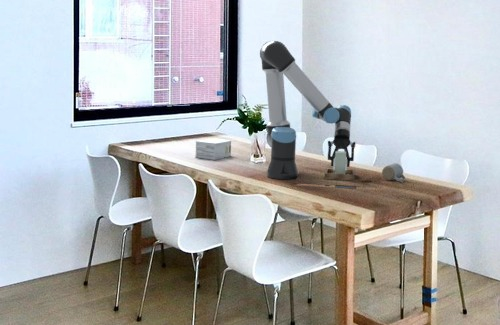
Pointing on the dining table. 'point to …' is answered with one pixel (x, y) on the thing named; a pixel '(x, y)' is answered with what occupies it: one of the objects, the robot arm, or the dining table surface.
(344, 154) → the block
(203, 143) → the supplement box
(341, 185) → the coaster
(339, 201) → the dining table surface
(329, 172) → the crate
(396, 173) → the ceramic mug
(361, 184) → the dining table surface
